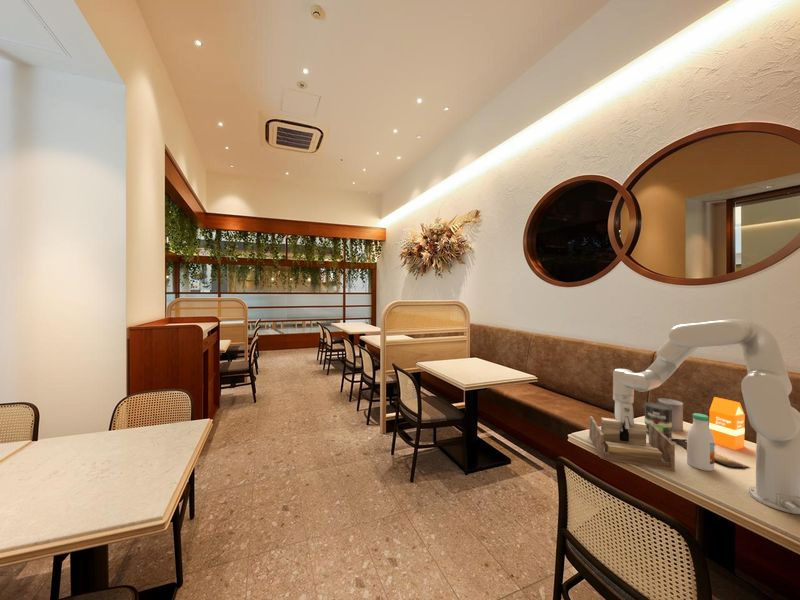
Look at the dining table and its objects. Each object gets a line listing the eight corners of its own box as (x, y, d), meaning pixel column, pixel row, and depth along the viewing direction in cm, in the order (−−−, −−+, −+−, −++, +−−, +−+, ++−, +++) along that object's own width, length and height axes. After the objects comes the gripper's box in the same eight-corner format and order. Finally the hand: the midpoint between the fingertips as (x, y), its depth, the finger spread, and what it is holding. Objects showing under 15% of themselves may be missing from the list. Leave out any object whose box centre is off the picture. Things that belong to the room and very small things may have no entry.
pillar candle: (660, 423, 164) (660, 394, 164) (685, 429, 157) (685, 399, 157) (655, 427, 158) (655, 398, 158) (680, 434, 151) (680, 403, 151)
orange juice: (718, 438, 146) (718, 395, 146) (744, 447, 138) (745, 401, 138) (708, 441, 143) (709, 397, 143) (735, 450, 135) (735, 403, 135)
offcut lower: (661, 463, 122) (661, 458, 122) (607, 455, 128) (607, 450, 128) (656, 457, 126) (656, 452, 126) (604, 450, 133) (604, 445, 133)
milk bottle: (704, 472, 117) (704, 419, 117) (681, 462, 125) (682, 412, 125) (719, 470, 119) (720, 417, 119) (696, 460, 127) (697, 410, 126)
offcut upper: (662, 458, 122) (662, 453, 122) (608, 451, 128) (608, 446, 128) (656, 453, 126) (656, 448, 126) (605, 446, 132) (605, 441, 132)
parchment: (752, 468, 120) (752, 466, 120) (730, 469, 119) (730, 467, 119) (684, 440, 145) (684, 438, 145) (666, 441, 143) (666, 439, 143)
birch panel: (646, 448, 134) (646, 425, 134) (602, 442, 140) (602, 419, 140) (643, 445, 137) (643, 422, 137) (600, 439, 143) (601, 417, 143)
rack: (674, 471, 118) (674, 444, 118) (600, 459, 127) (600, 434, 127) (651, 445, 139) (651, 423, 139) (589, 436, 148) (589, 415, 147)
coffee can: (670, 442, 142) (670, 411, 142) (642, 434, 150) (642, 405, 150) (673, 435, 149) (674, 406, 149) (646, 428, 157) (646, 400, 157)
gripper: (640, 404, 129) (639, 448, 130) (627, 393, 145) (627, 432, 145) (618, 402, 132) (618, 445, 132) (608, 391, 147) (608, 430, 148)
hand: (622, 438), depth 139 cm, fingers closed on birch panel, 3 cm apart
